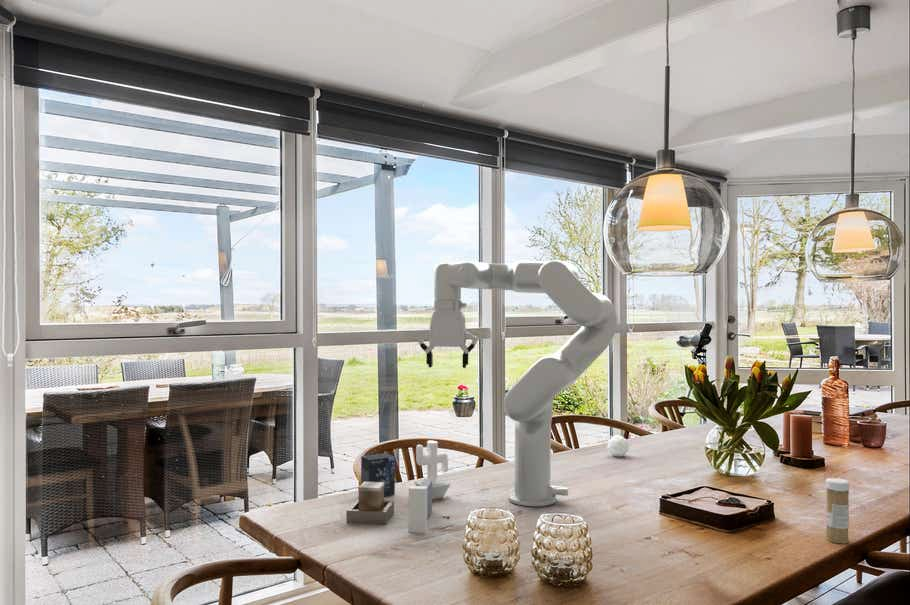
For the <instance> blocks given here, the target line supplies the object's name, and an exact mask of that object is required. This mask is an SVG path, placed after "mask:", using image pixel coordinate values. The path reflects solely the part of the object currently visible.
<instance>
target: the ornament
mask: <svg viewBox="0 0 910 605" xmlns="http://www.w3.org/2000/svg"><path fill="white" fill-rule="evenodd" d="M609 438H610V439H609V440H608V441H607V446H606V447H607V450H608V451H609V453H610V454H611V455H612V456H613V457H618V458H621V457H623V456H626V454H627V453H628V452H629V449H630V443H629V442H628V440H627V439H626V438H625V437H624V436H622V435H614V436H612V435H610V436H609Z"/></svg>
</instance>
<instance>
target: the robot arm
mask: <svg viewBox="0 0 910 605" xmlns="http://www.w3.org/2000/svg"><path fill="white" fill-rule="evenodd" d="M433 277H434V279H433V280H434V282H433V284H434V286H433V287H434V290H433V291H434V296H433V298H434V299H433V300H434V302H433V304H434V305H433V308H434V309H433V310H434V311H431V316H430V322H429V331H427V332H425V333H423V334H421V335H419V336H417V337H416V340H417V342H418V344H419V346H420V348H421V349H422V350H423V351H424V352H425V353H426V365H428V368H432V367H433V363H434V361H433V360H434V359H433V356H434V354H433V352H432V351H433V349H434V348H436V347H437V348H438V347H439V348H443V347H444V348H445V347H447V348H460V349H461V350H462V351H463V353H462V368H463V369H466V368H467V366H468V365H469V353H470V352H471V351H472V350H473V349H474V348H475V346H476V344H477V342H478V341H479V337H477V336H475V335H473V334H471V333H469V332H467V328H466V317H465V313H464V311H462V309H463V308H466V307H467V302H463V301H462V289H473V290H474V289H475V290H494V291H495V290H497V291H513V292H515V293H525V294H527V293H528V294H545V295H547V297H548V298H550V300H551V301H552V302H553V303H554V304H555V305H556V306H557V307H558V308H559V309H560V311H562V312H563V313H564V314H565V315H566V317H567V318H569V320H571V321H572V322H573V323H575V325H577V326H580V328H579V329H578V331H576V332H575V333H574V334H573V335H571V336H570V337H569V339H568V340H566V342H565V343H564V344H563V345H562V346H561V347H560V348H559V349H558V350H556V351H555V352H554V353H553V354H548V355H545V356H543V357H541V358H539V359H538V360H536V361H535V362H534V363H533V364H532V365H531V366H530V367H529V368H528V369H527V370H526V371H525V372H524V373H523V374H522V375H521V376H520V378H518V379H517V380H516V381H515V383H513V385H511V387H510V388H508V390H507V391H506V393H505V395H504V398H503V409H504V412H505V414H506V415H507V416H508V417H509V418H510V419H511V420H513V421H515V426H514V427H515V428H514V490H513V491H512V492H510V493H509V494H508V500H509V502H511V503H513V504H515V505H518V506H523V507H547V506H550V505H554V504H555V503H556V502H557V496H566V497H567V496H569V488H568V487H563V486H555V485H554V484H553V483H552V482H553V481H552V479H551V473H552V472H551V470H552V469H551V467H552V465H551V463H552V462H551V461H552V460H551V458H552V457H551V456H552V454H551V450H552V449H551V446H552V445H551V444H552V442H551V441H552V419H553V411H554V410H553V409H554V399H555V397H556V396H558V395H559V394H560V393H561V392H562V391H565V390H566V389H569V388H571V386H572V385H573V384H575V382H576V380H578V379H579V378H580V377H581V376H582V374H584V372H586V370H588V368H589V367H591V365H592V364H594V362H595V361H597V359H598V358H599V357H600V356H601V355H602V354H603V353H604V351H605V350H606V349H607V348H608V346H609V345H610V344H611V343H612V341H613V339H614V336H615V334H616V330H617V325H618V318H617V311H616V309H615V306H614V304H613V302H612V301H611V300H610V299H609V298H608V297H607V296H606V295H604V294H602V293H599V292H592V291H591V290H590V289H589V288H588V287H587V286H586V285H585V284H584V283H583V282H582V281H581V280H580V274H579V271H578V269H577V268H576V266H575V265H573V264H572V263H571V262H567V261H563V260H559V259H558V260H557V259H556V260H555V259H554V260H549V261H547V260H546V261H543V260H541V261H540V260H539V261H538V260H537V261H536V260H518V261H514V262H513V263H512V262H511V263H490V262H489V263H487V262H478V261H474V260H473V261H471V260H466V261H460V262H440V263H439V262H438V263H436V264H435V266H434V276H433ZM427 338H428V342H429V345H427V344H426V343H425V341H424V340H426V339H427ZM467 339H469V340H471V343H470V344H469V345H468V346H467V345H466V343H467Z"/></svg>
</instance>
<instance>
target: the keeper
mask: <svg viewBox="0 0 910 605" xmlns="http://www.w3.org/2000/svg"><path fill="white" fill-rule="evenodd" d="M394 513H395V500H390V499H389V500H388V499H386V500H385V499H384V509H383V511H376V510H359V498H357V499H356V500H355V501H354V502H353V503H352V504H351V505H350V506H349V507H348V508H347V510H346V513H345V514H346V524H353V525H356V524H357V525H359V524H360V525H378V526H379V525H381V526H385V525H386V526H387V524H388V522H389V521H390V519H391V518H392V516H393V515H394Z"/></svg>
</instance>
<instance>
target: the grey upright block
mask: <svg viewBox="0 0 910 605" xmlns="http://www.w3.org/2000/svg"><path fill="white" fill-rule="evenodd" d="M423 480H424V481H423ZM423 480H422V481H423V482H422V484H421V485H420V486H416V485H410V486H409V487H408V503H407V504H408V526H407V527H408V530H407V531H408V533H419V534H420V533H421V534H424V533H425V534H426V533H427V532H428V521H429V519H430V516H431V514H432V513H433V499H432V480H431V479H427V478H425V479H423Z"/></svg>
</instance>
